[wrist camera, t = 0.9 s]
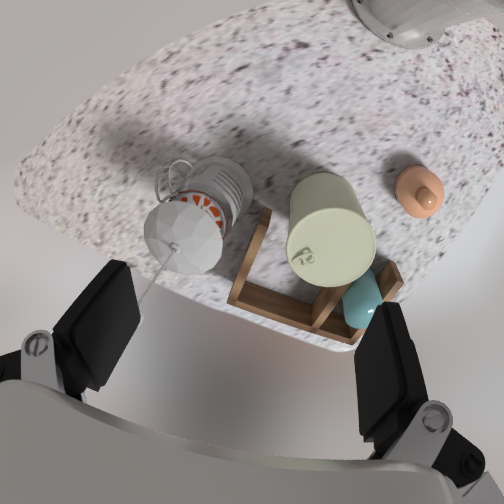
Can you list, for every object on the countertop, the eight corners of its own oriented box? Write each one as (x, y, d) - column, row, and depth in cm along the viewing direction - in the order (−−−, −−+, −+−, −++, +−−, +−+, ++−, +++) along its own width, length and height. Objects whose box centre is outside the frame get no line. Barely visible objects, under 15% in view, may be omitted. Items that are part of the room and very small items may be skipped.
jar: (350, 258, 41) (358, 293, 34) (381, 271, 41) (392, 305, 34) (333, 285, 44) (337, 322, 37) (362, 296, 44) (369, 332, 37)
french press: (204, 232, 42) (124, 371, 21) (166, 162, 37) (34, 262, 16) (265, 209, 39) (222, 364, 18) (228, 131, 34) (114, 210, 13)
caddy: (263, 207, 39) (259, 223, 34) (395, 263, 40) (403, 283, 36) (233, 282, 46) (226, 303, 42) (349, 323, 47) (352, 345, 43)
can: (278, 187, 37) (269, 228, 27) (344, 162, 34) (363, 194, 24) (304, 244, 41) (304, 300, 31) (365, 223, 37) (386, 275, 27)
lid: (407, 156, 32) (421, 166, 27) (442, 178, 32) (458, 191, 28) (386, 197, 35) (396, 212, 31) (421, 216, 35) (434, 232, 31)
